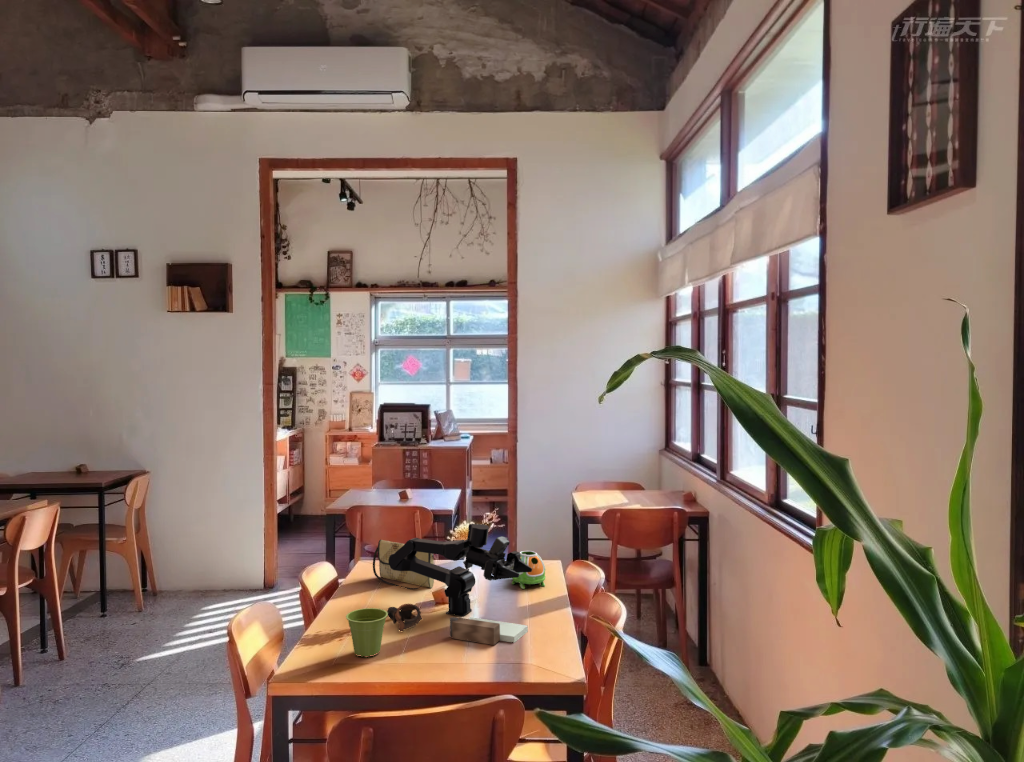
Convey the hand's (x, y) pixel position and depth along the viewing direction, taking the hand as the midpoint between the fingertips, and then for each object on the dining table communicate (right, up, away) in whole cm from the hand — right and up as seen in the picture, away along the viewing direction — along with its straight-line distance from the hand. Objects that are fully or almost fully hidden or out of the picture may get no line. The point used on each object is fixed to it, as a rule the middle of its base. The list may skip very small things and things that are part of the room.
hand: (525, 572), depth 232 cm
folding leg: (-16, -17, -12) cm, 26 cm away
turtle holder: (+1, -16, +44) cm, 47 cm away
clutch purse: (-45, -16, +45) cm, 66 cm away
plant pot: (-46, -18, -20) cm, 53 cm away
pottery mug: (-38, -17, +1) cm, 42 cm away
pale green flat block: (-11, -17, -6) cm, 21 cm away
